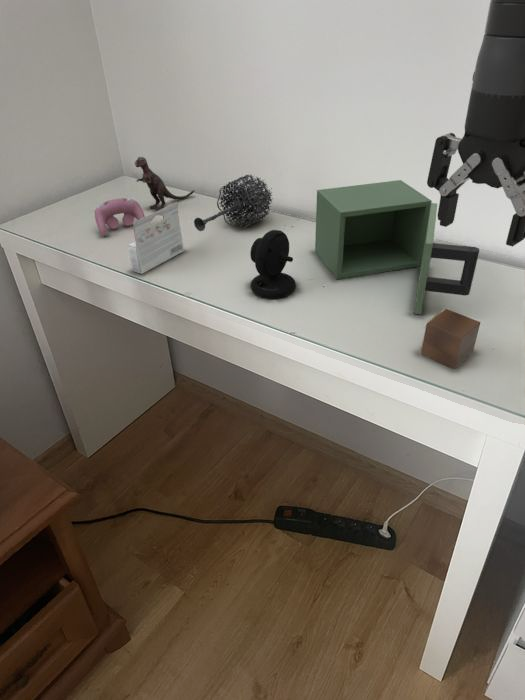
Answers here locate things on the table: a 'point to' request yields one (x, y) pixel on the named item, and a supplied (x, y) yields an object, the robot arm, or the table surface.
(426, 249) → the door
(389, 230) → the cupboard
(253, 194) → the massage brush
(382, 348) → the table surface
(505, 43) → the robot arm
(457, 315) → the block
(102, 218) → the video game controller
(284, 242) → the webcam
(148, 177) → the dinosaur model
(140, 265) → the ink cartridge box
